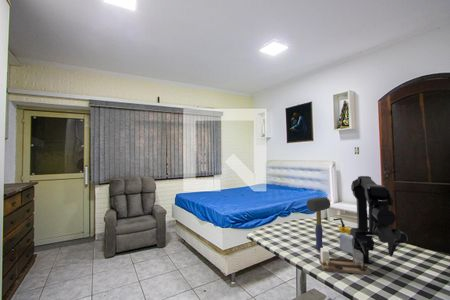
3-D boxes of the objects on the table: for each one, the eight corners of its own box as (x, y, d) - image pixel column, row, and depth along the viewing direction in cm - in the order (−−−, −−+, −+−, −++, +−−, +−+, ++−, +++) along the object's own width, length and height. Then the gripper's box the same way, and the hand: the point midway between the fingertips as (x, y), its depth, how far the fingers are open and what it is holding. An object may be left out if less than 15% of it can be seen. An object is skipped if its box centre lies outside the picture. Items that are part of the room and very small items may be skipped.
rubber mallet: (316, 255, 116) (315, 199, 116) (306, 250, 123) (305, 197, 123) (332, 250, 121) (331, 197, 122) (321, 245, 128) (320, 195, 129)
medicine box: (358, 253, 119) (357, 237, 119) (353, 254, 117) (352, 238, 117) (344, 247, 126) (344, 232, 126) (339, 249, 124) (339, 233, 124)
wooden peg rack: (319, 261, 110) (318, 247, 110) (362, 264, 107) (361, 249, 107) (324, 270, 101) (323, 255, 102) (371, 274, 98) (370, 258, 98)
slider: (320, 259, 109) (320, 247, 109) (327, 260, 109) (326, 248, 109) (324, 266, 103) (324, 254, 103) (331, 267, 102) (330, 254, 102)
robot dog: (336, 235, 144) (335, 215, 144) (364, 245, 128) (364, 223, 128) (330, 237, 141) (330, 216, 141) (359, 247, 125) (358, 224, 125)
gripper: (361, 222, 81) (362, 264, 81) (417, 224, 78) (418, 267, 78) (349, 214, 92) (349, 250, 92) (398, 215, 89) (398, 253, 89)
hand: (377, 255), depth 88 cm, fingers open, 9 cm apart
